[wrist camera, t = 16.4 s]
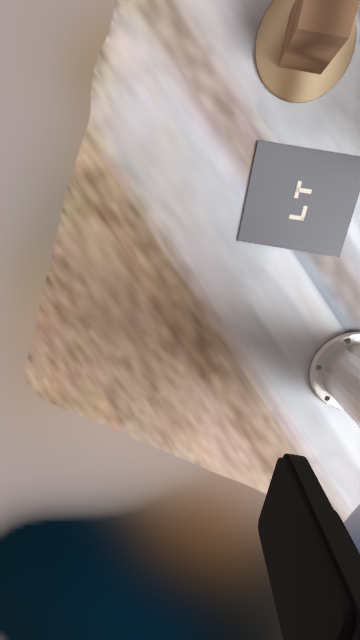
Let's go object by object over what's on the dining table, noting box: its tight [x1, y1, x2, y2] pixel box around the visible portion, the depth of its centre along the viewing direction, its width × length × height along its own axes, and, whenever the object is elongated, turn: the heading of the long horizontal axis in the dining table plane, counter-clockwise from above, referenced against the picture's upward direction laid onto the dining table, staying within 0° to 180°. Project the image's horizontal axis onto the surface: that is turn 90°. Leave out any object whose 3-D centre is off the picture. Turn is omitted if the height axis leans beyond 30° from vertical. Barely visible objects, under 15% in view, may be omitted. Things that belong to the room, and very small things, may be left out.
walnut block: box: [278, 0, 360, 75], centre depth 28 cm, size 5×5×6 cm
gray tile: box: [237, 140, 360, 257], centre depth 36 cm, size 14×12×1 cm
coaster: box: [255, 0, 356, 103], centre depth 31 cm, size 11×11×1 cm
